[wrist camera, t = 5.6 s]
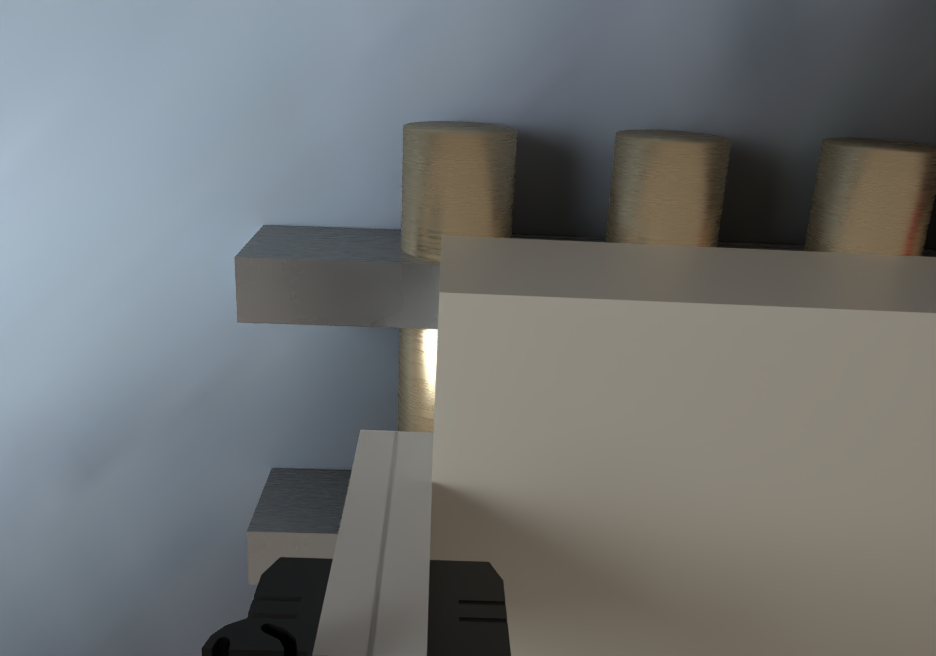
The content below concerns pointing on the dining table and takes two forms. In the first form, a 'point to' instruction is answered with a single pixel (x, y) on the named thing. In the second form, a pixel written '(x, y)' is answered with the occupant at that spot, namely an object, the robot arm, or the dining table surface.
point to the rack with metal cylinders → (490, 215)
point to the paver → (690, 446)
